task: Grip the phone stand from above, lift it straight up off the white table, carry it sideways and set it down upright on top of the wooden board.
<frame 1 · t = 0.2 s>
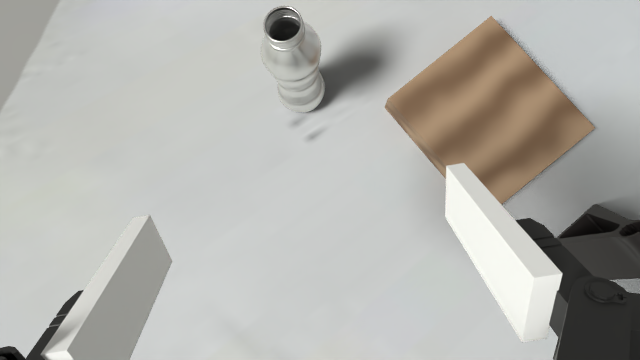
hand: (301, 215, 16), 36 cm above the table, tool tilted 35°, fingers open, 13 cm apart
wooden board: (478, 120, 52), on the table
plastic bottle: (303, 95, 54), on the table
phone stand: (584, 242, 50), on the table
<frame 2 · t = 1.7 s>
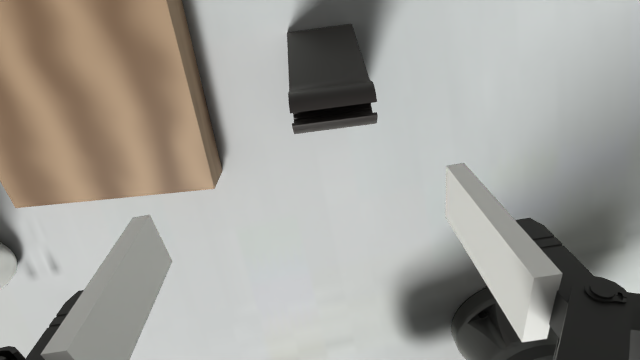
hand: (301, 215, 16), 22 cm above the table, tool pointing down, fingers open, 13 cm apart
wooden board: (101, 98, 35), on the table
phone stand: (324, 76, 36), on the table
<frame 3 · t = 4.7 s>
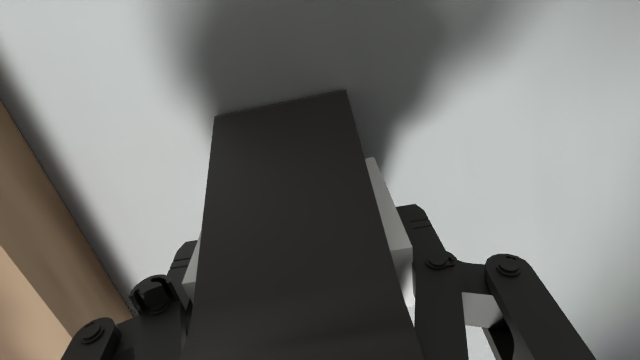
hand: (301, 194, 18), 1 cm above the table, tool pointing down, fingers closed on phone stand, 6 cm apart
phone stand: (301, 182, 19), on the table, touching gripper
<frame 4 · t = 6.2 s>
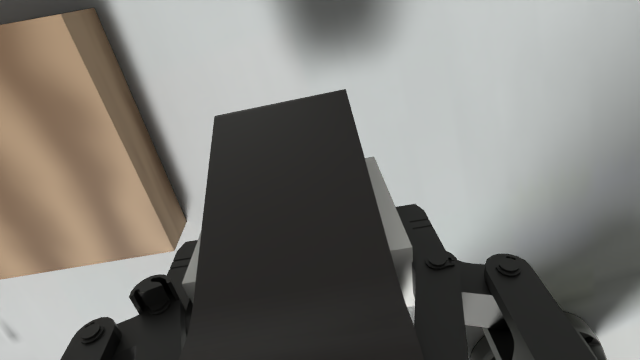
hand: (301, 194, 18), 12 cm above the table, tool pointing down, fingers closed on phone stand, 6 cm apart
wooden board: (25, 152, 29), on the table
phone stand: (301, 182, 19), point 11 cm above the table, touching gripper
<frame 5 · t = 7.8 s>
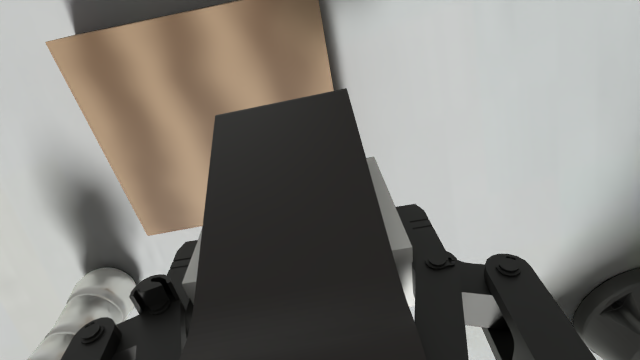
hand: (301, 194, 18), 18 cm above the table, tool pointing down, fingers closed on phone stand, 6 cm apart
wooden board: (226, 114, 34), on the table
plastic bottle: (115, 279, 43), on the table
phone stand: (301, 181, 19), point 16 cm above the table, touching gripper
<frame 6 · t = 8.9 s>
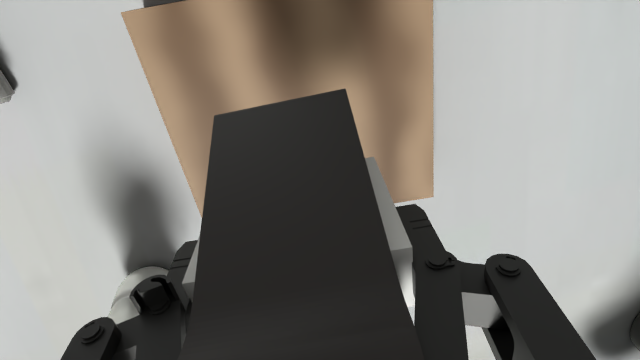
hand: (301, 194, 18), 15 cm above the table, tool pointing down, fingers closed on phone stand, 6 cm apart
wooden board: (300, 102, 31), on the table
plastic bottle: (158, 279, 40), on the table
phone stand: (300, 181, 19), point 14 cm above the table, touching gripper
when the fingers open (7 cm above the table, at t = 10.9 s): phone stand drops 2 cm, resting on wooden board.
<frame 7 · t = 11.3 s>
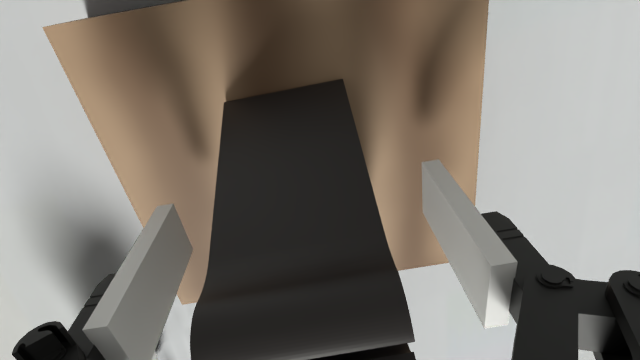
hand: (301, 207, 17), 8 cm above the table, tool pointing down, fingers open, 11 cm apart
wooden board: (300, 138, 24), on the table
phone stand: (301, 165, 20), point 4 cm above the table, touching wooden board
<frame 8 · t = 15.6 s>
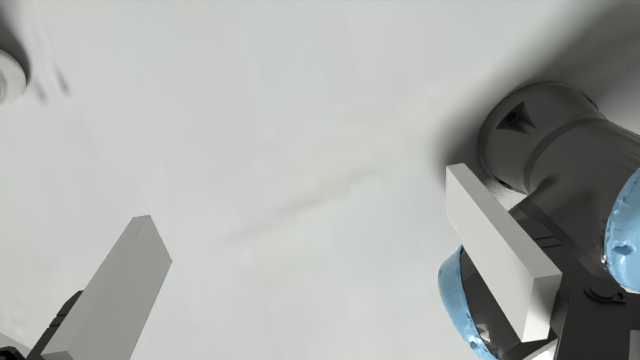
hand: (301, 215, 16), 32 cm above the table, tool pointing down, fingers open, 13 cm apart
plastic bottle: (5, 70, 42), on the table
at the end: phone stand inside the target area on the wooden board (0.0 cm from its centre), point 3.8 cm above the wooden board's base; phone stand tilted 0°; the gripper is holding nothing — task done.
